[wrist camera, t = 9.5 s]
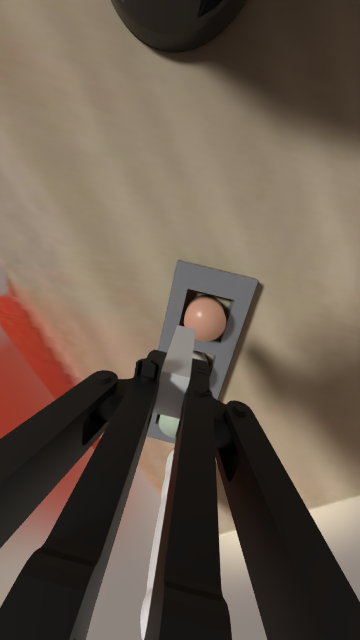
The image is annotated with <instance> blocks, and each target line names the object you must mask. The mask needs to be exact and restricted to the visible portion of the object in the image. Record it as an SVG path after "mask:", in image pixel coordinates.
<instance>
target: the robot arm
mask: <svg viewBox="0 0 360 640" xmlns="http://www.w3.org/2000/svg"><path fill="white" fill-rule="evenodd" d="M245 1H246V0H111V2H112V4H113V6H114V8H115V10H116V12H117V13H118V15H119V17H120V18H121V20H122V21H123V22H124V24H125V25H126V26H127V28H128V29H129V30H130V31H131V32H132V33H133V34H134V35H135V36H136V37H138V38H139V39H140V40H142V41H143V42H145V43H146V44H148V45H150V46H152V47H154V48H157V49H160V50H164V51H172V52H178V51H186V50H190V49H194V48H197V47H199V46H201V45H203V44H205V43H207V42H209V41H210V40H212V39H213V38H214V37H216V36H217V35H218V34H219V33H221V32H222V31H223V30H224V29H225V28H226V27H227V26H228V25H229V24H230V22H231V21H232V20H233V19H234V18H235V16H236V15H237V14H238V12H239V11H240V9H241V8H242V6H243V4H244V3H245ZM195 331H196V329H192V328H188V327H183V326H179V325H177V327H176V330H175V333H174V336H173V339H172V341H171V344H170V347H169V350H168V353H167V352H163V351H159V350H153V351H151V352H150V353H149V354H148V356H147V358H145V359H140V360H138V361H137V362H136V368H135V374H134V377H133V378H131V379H118V377H117V375H116V374H115V373H113V372H111V371H105V370H102V371H97V372H95V373H93V374H92V375H90V376H89V377H88V378H86V379H85V380H83V381H82V382H80V383H79V384H78V385H76V386H75V387H73V388H72V389H70V390H69V391H68V392H66V393H65V394H63V395H62V396H61V397H59V398H58V399H56V400H55V401H53V402H52V403H51V404H50V405H48V406H46V407H45V408H44V409H42V410H41V411H39V412H38V413H36V414H35V415H34V416H32V417H31V418H29V419H28V420H27V421H25V422H24V423H22V424H21V425H19V426H18V427H17V428H15V429H14V430H12V431H11V432H9V433H8V434H7V435H5V436H4V437H3V438H1V439H0V548H1V547H2V546H3V545H4V543H5V542H6V541H7V540H8V539H9V538H10V537H11V535H12V534H13V533H14V532H15V531H16V530H17V529H18V528H19V526H20V525H21V524H22V523H23V522H24V521H25V520H26V519H27V518H28V516H29V515H30V514H31V513H32V512H33V511H34V510H35V508H36V507H37V506H38V505H39V504H40V503H41V502H42V501H43V500H44V498H45V497H46V496H47V495H48V494H49V493H50V492H51V491H52V489H53V488H54V487H55V486H56V485H57V484H58V483H59V482H60V480H61V479H62V478H63V477H64V476H65V475H66V474H67V473H68V471H69V470H70V469H71V468H72V467H73V466H74V464H75V463H76V462H77V461H78V460H79V459H80V458H81V457H82V456H83V455H84V454H85V452H86V451H87V450H88V449H89V448H90V447H91V446H92V445H93V443H94V442H95V441H96V440H97V439H98V438H99V437H100V436H101V434H102V433H103V432H104V431H105V432H104V434H103V435H102V437H101V439H100V441H99V443H98V445H97V447H96V448H95V450H94V452H93V454H92V456H91V458H90V460H89V462H88V463H87V466H86V467H85V469H84V471H83V473H82V475H81V477H80V478H79V481H78V482H77V484H76V486H75V488H74V490H73V492H72V493H71V495H70V497H69V499H68V501H67V503H66V505H65V506H64V508H63V510H62V512H61V514H60V516H59V518H58V520H57V522H56V523H55V525H54V527H53V529H52V531H51V533H50V535H49V536H48V538H47V540H46V542H45V543H44V544H43V546H42V547H41V548H39V549H38V550H36V551H35V552H34V553H33V554H32V555H31V557H30V558H29V559H28V561H27V562H26V564H25V565H24V567H23V569H22V570H21V572H20V574H19V575H18V577H17V579H16V581H15V583H14V584H13V586H12V588H11V590H10V592H9V593H8V595H7V597H6V599H5V600H4V602H3V604H2V606H1V608H0V640H86V637H87V633H88V629H89V625H90V621H91V617H92V613H93V610H94V606H95V603H96V600H97V596H98V593H99V589H100V586H101V583H102V580H103V577H104V573H105V570H106V567H107V563H108V560H109V557H110V554H111V550H112V547H113V543H114V541H115V537H116V534H117V531H118V527H119V524H120V521H121V518H122V514H123V511H124V507H125V504H126V501H127V498H128V495H129V491H130V488H131V484H132V481H133V478H134V475H135V472H136V468H137V465H138V462H139V458H140V455H141V452H142V449H143V445H144V442H145V439H146V435H147V432H148V429H149V426H150V422H151V418H152V413H157V414H161V415H165V416H169V417H173V418H177V419H180V420H179V424H178V428H177V432H176V435H175V437H176V441H175V448H174V454H173V461H172V467H171V474H170V480H169V486H168V493H167V499H166V506H165V512H164V519H163V525H162V532H161V538H160V544H159V551H158V557H157V564H156V570H155V577H154V583H153V589H152V596H151V602H150V609H149V615H148V621H147V627H146V633H145V638H144V640H232V634H231V624H230V615H229V610H228V606H227V603H226V601H225V600H224V598H223V595H222V591H221V576H220V554H219V530H218V507H217V484H216V461H217V464H218V468H219V471H220V475H221V478H222V482H223V485H224V489H225V492H226V496H227V499H228V503H229V506H230V510H231V513H232V517H233V520H234V524H235V527H236V531H237V534H238V538H239V541H240V545H241V548H242V552H243V556H244V559H245V563H246V566H247V569H248V573H249V577H250V580H251V583H252V587H253V590H254V594H255V598H256V601H257V605H258V608H259V612H260V615H261V619H262V622H263V626H264V629H265V633H266V636H267V640H360V602H359V600H358V598H357V596H356V594H355V593H354V591H353V589H352V588H351V586H350V584H349V582H348V580H347V578H346V577H345V575H344V573H343V571H342V570H341V568H340V566H339V564H338V562H337V561H336V559H335V557H334V555H333V554H332V552H331V550H330V548H329V547H328V545H327V543H326V541H325V539H324V538H323V536H322V534H321V532H320V530H319V529H318V527H317V525H316V523H315V522H314V520H313V518H312V516H311V515H310V513H309V511H308V509H307V507H306V506H305V504H304V502H303V500H302V499H301V497H300V495H299V493H298V491H297V490H296V488H295V486H294V484H293V483H292V481H291V479H290V477H289V475H288V474H287V472H286V470H285V468H284V467H283V465H282V463H281V461H280V459H279V458H278V456H277V454H276V452H275V451H274V449H273V447H272V445H271V443H270V442H269V440H268V438H267V436H266V435H265V433H264V431H263V429H262V428H261V426H260V424H259V422H258V420H257V419H256V417H255V415H254V413H253V412H252V410H251V409H250V408H249V407H248V406H247V405H246V404H244V403H242V402H239V401H230V402H228V403H227V405H226V404H224V403H222V402H220V401H218V400H217V399H215V398H214V397H213V394H212V391H211V390H210V382H209V365H208V364H207V362H206V361H203V360H199V359H195V358H192V357H193V349H194V340H195ZM215 457H216V460H215Z"/></svg>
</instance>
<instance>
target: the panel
mask: <svg viewBox="0 0 360 640" xmlns="http://www.w3.org/2000/svg"><path fill="white" fill-rule="evenodd" d="M257 283H258V280H257V279H255V278H251V277H247V276H243V275H239V274H235V273H231V272H226V271H222V270H218V269H214V268H210V267H206V266H202V265H198V264H193V263H189V262H185V261H181V260H178V261H177V264H176V269H175V274H174V278H173V283H172V288H171V292H170V297H169V301H168V306H167V311H166V315H165V320H164V325H163V329H162V334H161V339H160V343H159V348H158V350H159V351H163V352H167V353H168V350H169V347H170V344H171V341H172V339H173V336H174V333H175V330H176V327H177V325H179V324H180V320H181V316H182V311H183V307H184V303H185V299H186V295H187V291H188V289H191V290H195V291H199V292H203V293H207V294H211V295H215V296H219V297H223V298H227V299H232V300H231V303H230V306H229V309H228V312H227V316H226V326H225V329H224V331H223V333H222V334H221V335H220V337H218V338H216V339H214V340H212V341H199V340H196V339H195V340H194V349H193V350H195V351H199V352H203V353H207V354H211V355H214V357H213V360H212V363H211V367H210V370H209V382H210V390H211V391H212V394H213V397H214V398H215V399H218V396H219V393H220V390H221V387H222V384H223V381H224V378H225V376H226V373H227V370H228V367H229V364H230V361H231V358H232V355H233V352H234V349H235V347H236V344H237V341H238V338H239V335H240V332H241V329H242V326H243V323H244V320H245V318H246V315H247V312H248V309H249V306H250V303H251V300H252V297H253V294H254V291H255V289H256V286H257ZM159 419H160V415H158V414H157V413H152V418H151V422H150V426H149V429H148V432H147V435H146V436H147V437H151V438H155V439H158V440H162V441H166V442H170V443H174V444H175V441H176V438H171V437H169V436H167V435H165V434H164V433H163V432H162V431H161V429H160V427H159Z"/></svg>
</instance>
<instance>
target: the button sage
mask: <svg viewBox="0 0 360 640" xmlns="http://www.w3.org/2000/svg"><path fill="white" fill-rule="evenodd" d="M179 420H180V419H177V418H173V417H169V416H165V415H160V419H159V427H160V429H161V431H162V432H163V433H164V434H165V435H167V436H169V437H171V438H176V437H175V435H176V432H177V428H178V424H179Z"/></svg>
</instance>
